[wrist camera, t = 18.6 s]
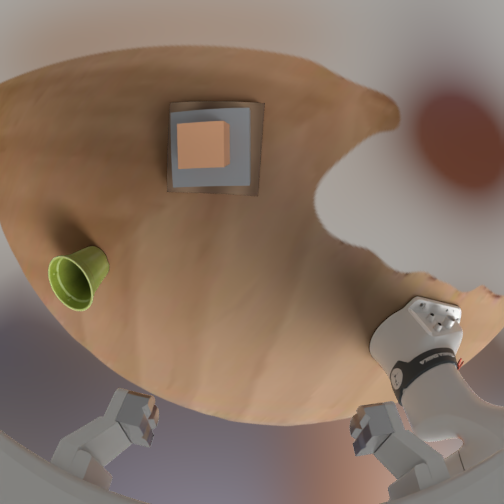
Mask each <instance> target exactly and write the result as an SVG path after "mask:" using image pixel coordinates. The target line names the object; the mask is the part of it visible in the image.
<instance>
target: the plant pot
mask: <svg viewBox="0 0 504 504" xmlns="http://www.w3.org/2000/svg"><path fill="white" fill-rule="evenodd" d="M108 271H109V263H108V261H107V258H106V255H105V254H104V252H103V251H102V250H101V249H99V248H97V247H95V246H89V247H86V248H84V249H82V250H79V251H77V252H75V253H72V254H70V255H65V256H63V255H60V256H57V257H55V258H53V259H52V261H51V262H50V264H49V268H48V277H49V282H50V285H51V287H52V289H53V292H54V293H55V295H56V296H57V297H58V299H59V300H60V301H61V302H62V303H63V304H64V305H66V306H67V307H68V308H70V309H73V310H76V311H84V310H86V309H88V308H89V307H90V306H91V304H92V302H93V296H94V293H95V291H96V290H97V288H98V287H99V285H100V284H101V282H102V281H103V279H104V278H105V276H106V275H107V273H108Z"/></svg>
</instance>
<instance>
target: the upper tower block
mask: <svg viewBox="0 0 504 504" xmlns="http://www.w3.org/2000/svg"><path fill="white" fill-rule="evenodd" d="M208 121H225V122H226V123H228V124H230V164H228V165H227V166H225V167H215V168H190V169H178V147H177V124H182V123H194V122H208ZM171 158H172V179H173V188H176V187H200V186H250V182H251V128H250V108H221V109H205V110H192V111H182V112H173V113H171Z"/></svg>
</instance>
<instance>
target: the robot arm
mask: <svg viewBox="0 0 504 504" xmlns="http://www.w3.org/2000/svg"><path fill="white" fill-rule="evenodd" d="M460 319H461V309H460V307H458V306H455V305H451V304H447V303H443V302H439V301H435V300H431V299H427V298H423V297H418V296H417V297H415V298H413V299H412V300H411V301H410V302H409V303H408V304H407V305H406V306H405V307H404V308H403V309H401V310H399V311H398V312H396V313H394V314H393V315H391V316H390V317H388V318H387V319H386V320H385V321H384V322H383V323H382V324H381V325H380V326H379V327H378V328H377V330H376V331H375V333H374V335H373V337H372V339H371V342H370V353H371V355H372V357H373V358H374V359H375V360H376V361H377V362H378V363H379V364H380V366H381V367H382V368H383V370H384V371H385V373H386V374H387V376H388V377H389V379H390V381H391V385H392V388H393V391H394V393H395V396H396V398H397V400H398V402H399V404H400V405H401V406H402V407H403V408H404V410H405V413H406V415H407V418H408V421H409V423H410V426H411V428H412V431H413V433H414V434H413V433H412V432H410V431H409V430H405V428H404V426H403V423H402V420H401V418H400V415H399V413H398V410H397V408H396V405H395V403H394V402H393V401H389V402H384V403H376V404H369V405H362V406H359V407H358V409H357V410H356V411H357V414H356V415H354V416H353V417H352V419H351V421H350V433H351V436H352V437H353V438H354V439H355V441H354V443H353V447H354V451H355V456H361V455H368V454H374V456H375V457H376V458H377V459H378V460H379V461H380V462H381V463H382V464H383V465H384V466H385V467H386V468H387V469H388V470H389V471H390V472H391V473H392V474H393V475H394V476H395V477H396V478H397V479H398V480H396V481H395V482H394V483H392V484H391V485H390V486H389V487H388V491H389V496H390V498H389V500H388V502H384V503H381V504H504V406H503V407H502V406H496V405H493V404H490V403H487V402H485V401H484V400H482V399H481V398H479V397H478V396H477V395H476V394H475V393H474V392H473V390H472V389H471V388H470V387H469V385H468V384H467V383H466V381H465V380H464V378H463V377H462V376H461V374H460V373H459V371H458V370H459V369H460V367H461V366H462V364H463V362H464V361H463V362H462V363H461V360H462V358H460V360H459V361H458V363H457V362H456V357H455V355H456V353H457V350H458V348H459V346H460V343H461V341H462V336H463V331H462V328H461V326H460V325H459V322H460ZM460 363H461V364H460ZM459 365H460V366H459ZM158 420H159V410H158V407H157V406H156V405H155V398H154V396H151V395H146V394H142V393H137V392H133V391H130V390H126V389H122V388H118V389H117V390H116V391H115V393H114V395H113V397H112V400H111V402H110V404H109V406H108V408H107V410H106V412H105V415H104V416H103V417H101V416H100V417H98V418H97V419H95V420H93V421H92V422H90V423H88V424H87V425H85V426H83V427H81V428H80V429H78V430H76V431H75V432H73V433H71V434H69V435H68V436H66V437H64V438H62V439H61V440H60V443H59V445H58V447H57V449H56V451H55V453H54V455H53V457H52V459H51V462H48V461H46V460H44V459H43V458H41V457H39V456H38V455H36V454H35V453H33V452H31V451H30V450H28V449H27V448H25V447H24V446H22V445H20V444H19V443H18V442H16V441H15V440H14V439H12V438H11V437H10V436H8V435H7V434H5V433H4V432H3V431H1V430H0V504H150V503H146V502H142V501H139V500H136V499H133V498H129V497H126V496H123V495H120V494H117V493H115V492H112V491H109V488H110V484H111V481H112V475H111V474H110V473H109V472H108V471H107V470H106V469H105V468H104V466H105V465H107V464H108V463H109V462H110V461H112V460H113V459H114V458H115V457H117V456H118V455H119V454H120V453H121V452H123V451H124V450H125V449H126V448H127V447H129V446H130V445H131V443H133V444H137V445H141V446H145V447H151V444H152V440H153V437H154V434H153V432H152V429H154V428H156V427H157V424H158ZM450 438H458V439H461V440H462V441H463V445H462V447H461V448H459V450H457V451H456V452H454V453H453V454H451V455H450V456H448V457H447V458H445V459H443V456H442V455H441V454H440V453H438V452H437V451H436V450H434V449H433V448H432V447H430V446H429V445H428V444H426V443H425V442H424V441H427V442H434V441H441V440H446V439H450Z"/></svg>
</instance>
